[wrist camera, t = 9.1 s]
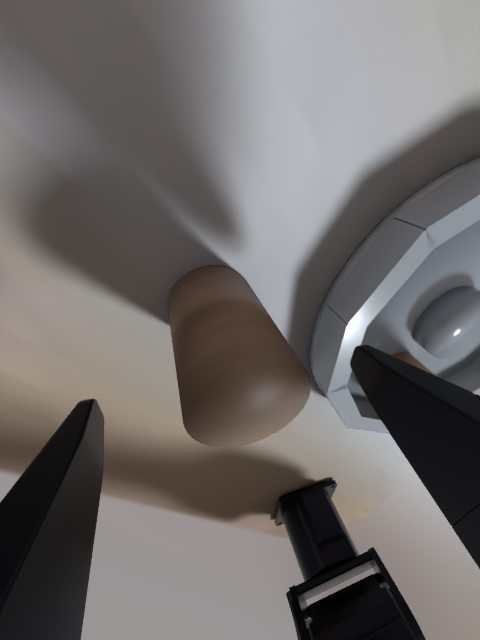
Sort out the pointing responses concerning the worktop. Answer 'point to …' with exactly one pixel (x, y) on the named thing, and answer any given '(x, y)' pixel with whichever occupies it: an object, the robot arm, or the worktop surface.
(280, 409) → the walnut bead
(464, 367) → the groove tray
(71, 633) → the robot arm
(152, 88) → the worktop surface
